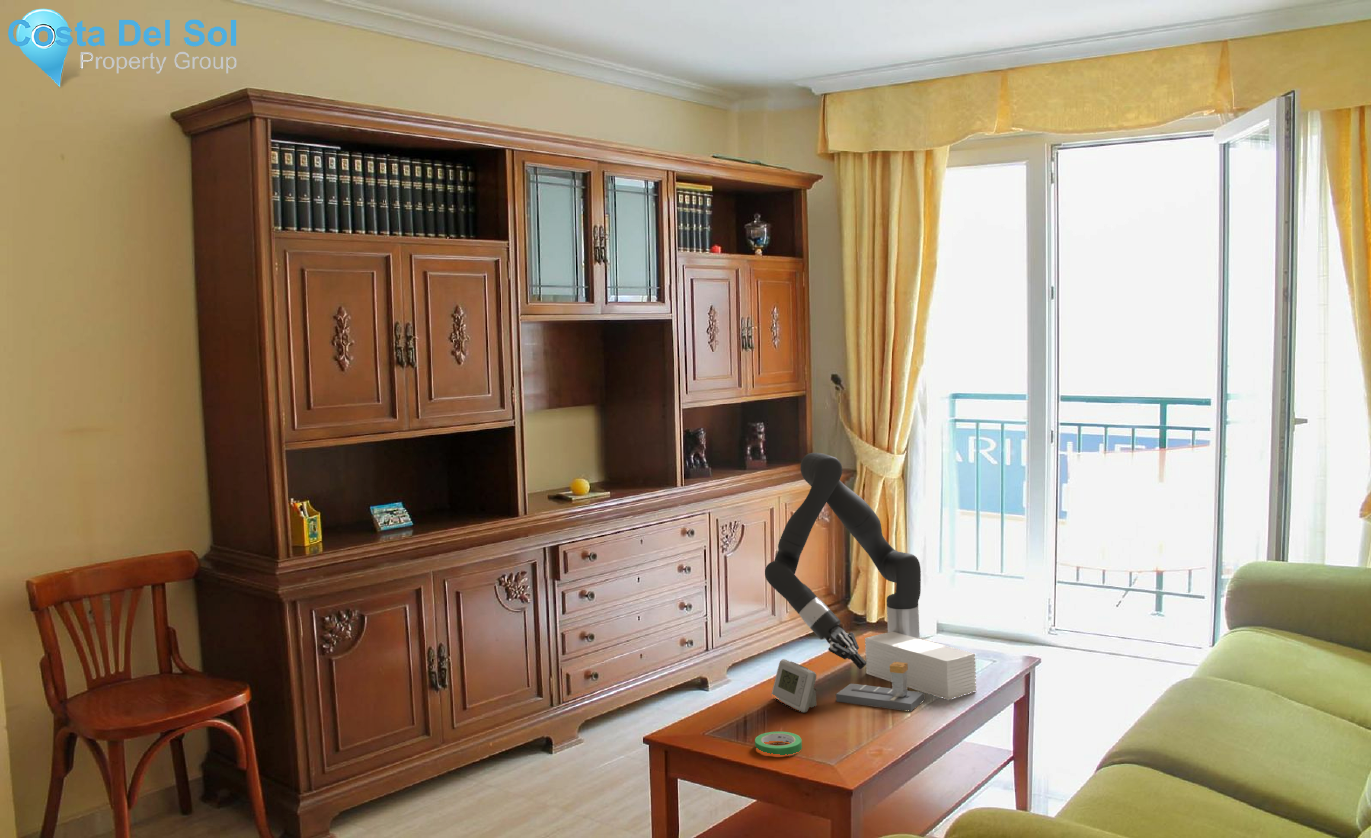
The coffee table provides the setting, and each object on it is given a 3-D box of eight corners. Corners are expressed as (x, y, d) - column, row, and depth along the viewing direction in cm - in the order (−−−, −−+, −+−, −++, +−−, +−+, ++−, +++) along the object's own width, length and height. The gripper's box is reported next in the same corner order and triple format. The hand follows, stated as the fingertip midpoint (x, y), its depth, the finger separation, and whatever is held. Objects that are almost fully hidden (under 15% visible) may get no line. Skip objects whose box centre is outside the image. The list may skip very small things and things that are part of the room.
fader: (895, 692, 281) (894, 661, 280) (908, 693, 279) (907, 663, 279) (890, 695, 278) (889, 665, 277) (904, 697, 276) (902, 666, 276)
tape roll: (811, 748, 251) (810, 737, 251) (782, 762, 243) (782, 751, 243) (774, 738, 259) (774, 728, 258) (745, 752, 251) (745, 741, 250)
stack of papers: (976, 692, 285) (974, 653, 284) (948, 701, 279) (946, 661, 278) (893, 667, 312) (892, 631, 311) (866, 674, 306) (864, 637, 306)
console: (851, 690, 291) (850, 682, 291) (924, 700, 280) (924, 692, 280) (836, 701, 283) (835, 693, 283) (911, 711, 272) (911, 703, 272)
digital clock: (769, 698, 289) (767, 660, 288) (800, 693, 291) (798, 655, 291) (791, 716, 273) (789, 676, 273) (823, 711, 275) (821, 671, 275)
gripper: (817, 615, 282) (863, 664, 276) (837, 603, 293) (881, 651, 288) (800, 633, 285) (845, 682, 279) (821, 620, 296) (864, 668, 291)
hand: (863, 666), depth 284 cm, fingers closed
